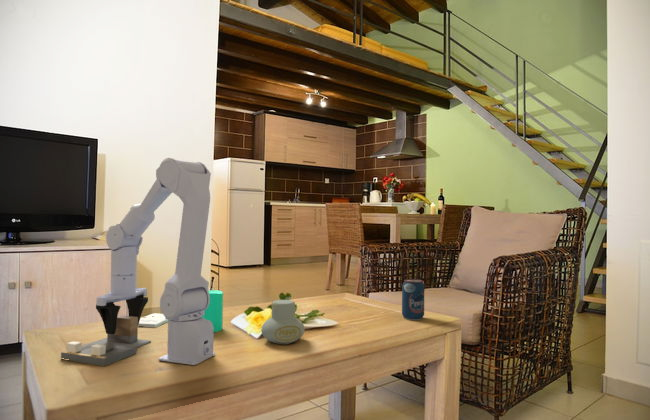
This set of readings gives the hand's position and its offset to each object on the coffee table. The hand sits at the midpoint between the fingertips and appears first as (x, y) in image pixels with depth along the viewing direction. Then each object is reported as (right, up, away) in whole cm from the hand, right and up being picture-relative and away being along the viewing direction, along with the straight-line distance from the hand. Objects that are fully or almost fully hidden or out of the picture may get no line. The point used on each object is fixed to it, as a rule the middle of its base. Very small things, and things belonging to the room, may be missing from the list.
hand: (122, 329), depth 108 cm
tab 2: (+1, -1, -14) cm, 14 cm away
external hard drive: (-1, -4, +22) cm, 22 cm away
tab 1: (-5, -1, -12) cm, 13 cm away
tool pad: (0, -3, 0) cm, 3 cm away
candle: (+18, -4, +14) cm, 23 cm away
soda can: (+78, -5, +31) cm, 84 cm away
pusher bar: (0, -3, 0) cm, 3 cm away
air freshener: (+39, -4, +4) cm, 40 cm away
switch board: (0, -3, -10) cm, 11 cm away
